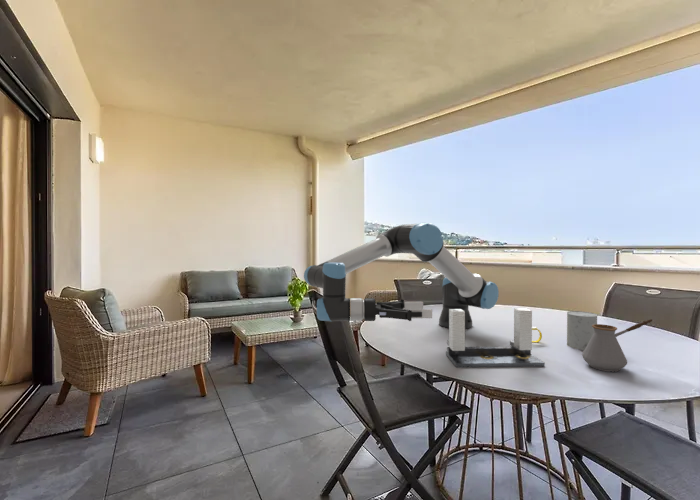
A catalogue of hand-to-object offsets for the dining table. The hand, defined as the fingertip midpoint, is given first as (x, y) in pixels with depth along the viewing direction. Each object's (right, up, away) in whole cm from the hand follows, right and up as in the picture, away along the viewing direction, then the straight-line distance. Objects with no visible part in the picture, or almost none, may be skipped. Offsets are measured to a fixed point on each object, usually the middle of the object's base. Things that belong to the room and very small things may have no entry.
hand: (427, 309), depth 116 cm
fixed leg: (+32, -15, +3) cm, 36 cm away
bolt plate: (+22, -17, +1) cm, 28 cm away
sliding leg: (+10, -15, +3) cm, 19 cm away
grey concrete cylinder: (+61, -17, +15) cm, 65 cm away
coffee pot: (+59, -17, -6) cm, 62 cm away
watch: (+46, -17, +21) cm, 53 cm away
